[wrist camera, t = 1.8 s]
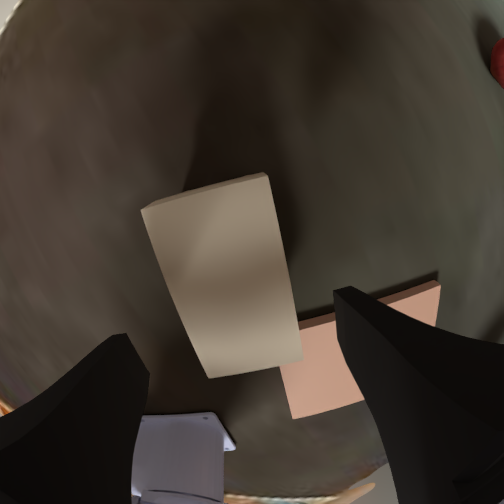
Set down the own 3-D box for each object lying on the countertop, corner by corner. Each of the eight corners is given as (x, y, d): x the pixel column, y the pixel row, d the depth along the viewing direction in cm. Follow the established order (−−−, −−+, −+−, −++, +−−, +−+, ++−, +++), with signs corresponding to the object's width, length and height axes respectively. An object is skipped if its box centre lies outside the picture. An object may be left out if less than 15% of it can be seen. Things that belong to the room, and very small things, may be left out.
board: (291, 411, 23) (292, 419, 22) (270, 328, 19) (271, 336, 18) (419, 369, 23) (423, 375, 22) (434, 279, 19) (440, 284, 18)
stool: (286, 300, 18) (304, 360, 13) (215, 316, 19) (208, 378, 13) (257, 167, 15) (267, 175, 10) (174, 188, 16) (140, 210, 10)
